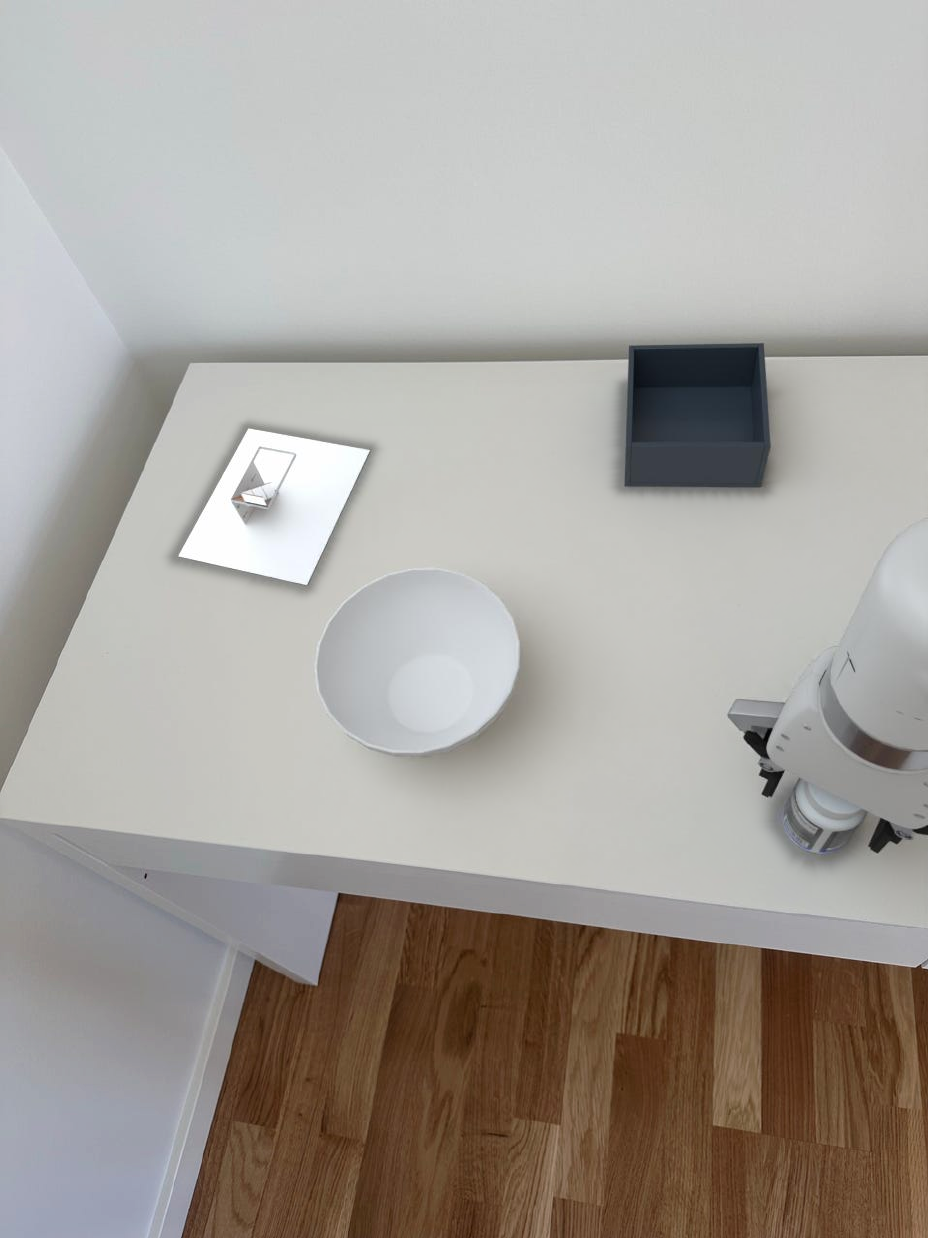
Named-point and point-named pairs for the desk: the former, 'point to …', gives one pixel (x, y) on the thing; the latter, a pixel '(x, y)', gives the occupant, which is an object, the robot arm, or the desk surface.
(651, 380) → the bin
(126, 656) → the desk surface
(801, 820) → the pill bottle
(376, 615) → the bowl
